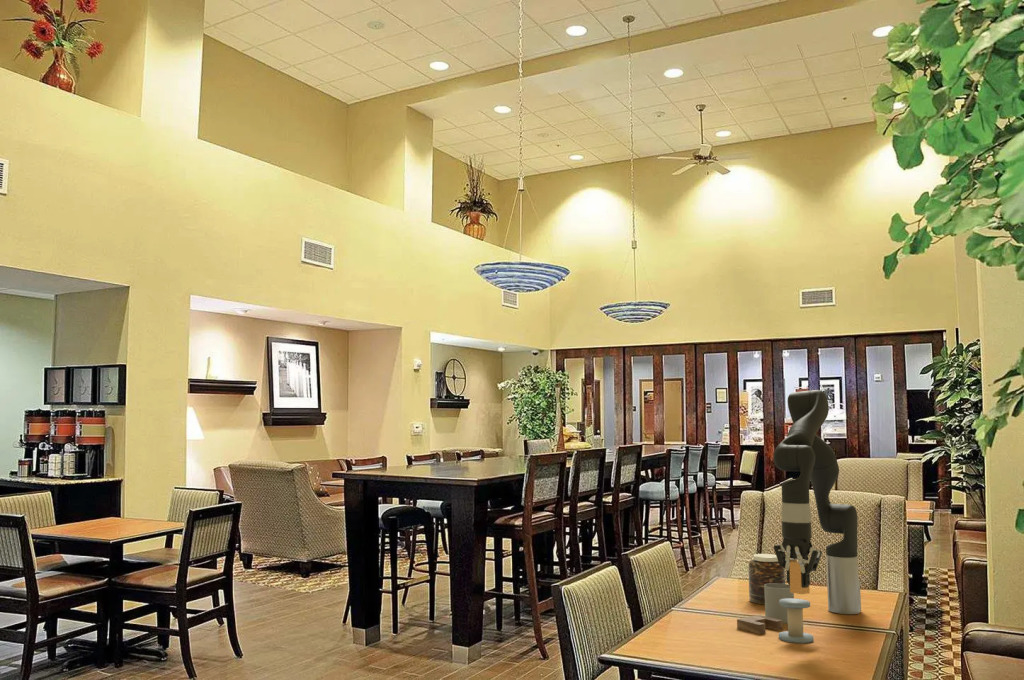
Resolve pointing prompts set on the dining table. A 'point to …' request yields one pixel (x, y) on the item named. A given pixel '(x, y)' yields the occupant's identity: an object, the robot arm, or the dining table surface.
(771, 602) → the cup
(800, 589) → the block
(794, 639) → the bobbin
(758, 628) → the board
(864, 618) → the dining table surface
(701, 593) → the dining table surface
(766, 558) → the jar
